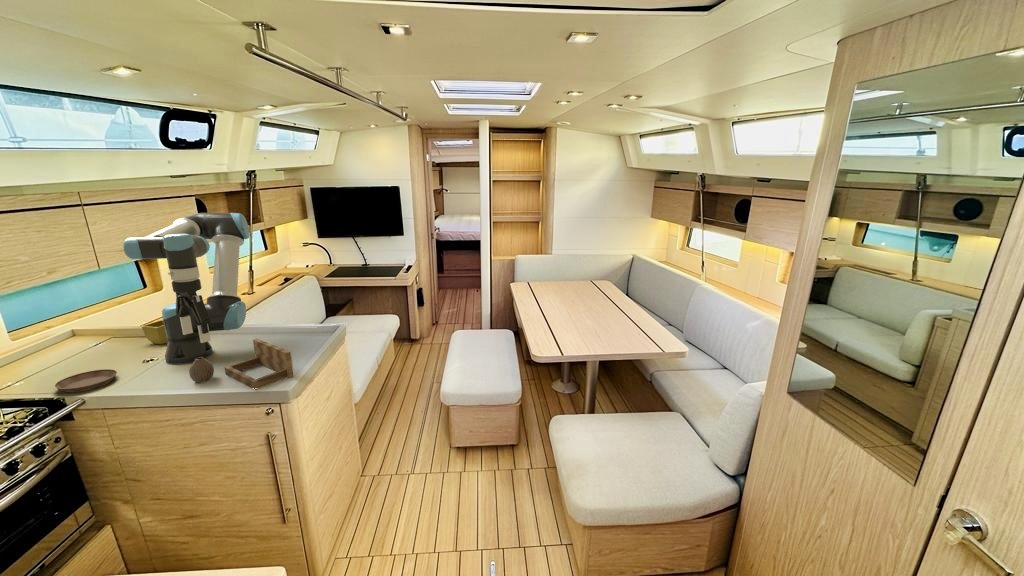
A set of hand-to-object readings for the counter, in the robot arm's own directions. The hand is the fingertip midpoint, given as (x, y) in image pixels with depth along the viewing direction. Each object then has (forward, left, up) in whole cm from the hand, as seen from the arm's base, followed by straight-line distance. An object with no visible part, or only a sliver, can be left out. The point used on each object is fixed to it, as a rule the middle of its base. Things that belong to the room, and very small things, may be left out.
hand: (196, 337), depth 135 cm
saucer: (-29, -23, -17) cm, 41 cm away
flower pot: (-56, +6, -17) cm, 59 cm away
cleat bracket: (+12, +13, -17) cm, 24 cm away
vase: (0, 0, -17) cm, 17 cm away
